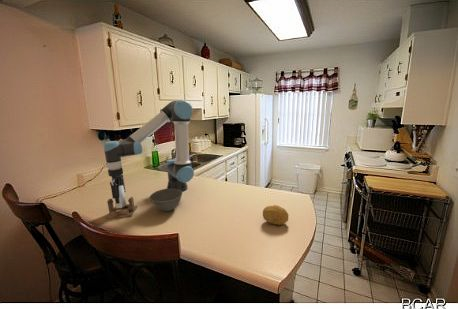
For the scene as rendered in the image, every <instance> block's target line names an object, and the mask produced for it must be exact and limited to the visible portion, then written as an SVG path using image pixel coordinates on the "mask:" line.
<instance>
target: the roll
mask: <svg viewBox="0 0 458 309" xmlns="http://www.w3.org/2000/svg"><path fill="white" fill-rule="evenodd" d="M124 191H125V190H124V187H123V185H122V186H119V197H120V199H121V205H122V207H125V206H126V204H127V200H126V194H125V193H126V192H124ZM114 203H115V205H116V202H115V201H114Z"/></svg>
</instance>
